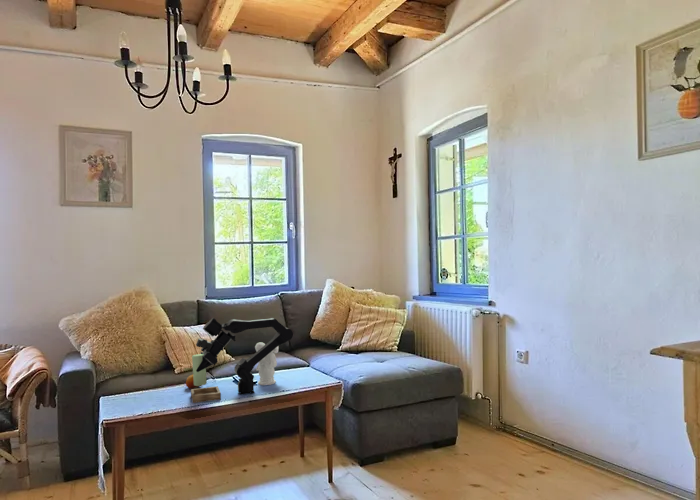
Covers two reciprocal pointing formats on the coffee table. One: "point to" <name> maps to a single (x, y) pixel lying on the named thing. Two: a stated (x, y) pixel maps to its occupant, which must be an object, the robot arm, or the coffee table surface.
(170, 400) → the coffee table surface
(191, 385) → the fruit
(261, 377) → the cherub figurine
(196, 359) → the green rounded tapered cylinder
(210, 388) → the tray
